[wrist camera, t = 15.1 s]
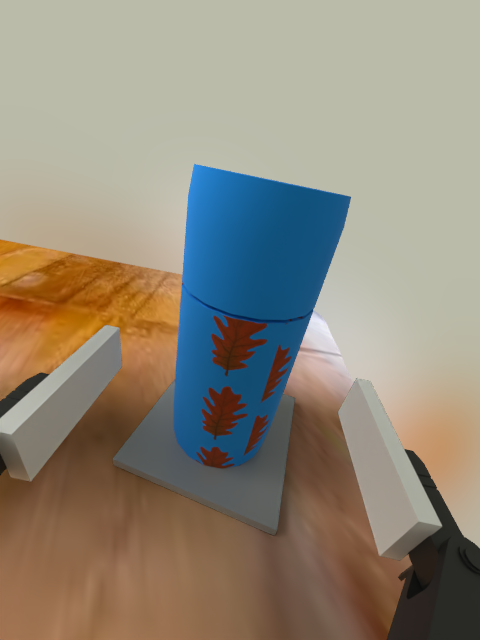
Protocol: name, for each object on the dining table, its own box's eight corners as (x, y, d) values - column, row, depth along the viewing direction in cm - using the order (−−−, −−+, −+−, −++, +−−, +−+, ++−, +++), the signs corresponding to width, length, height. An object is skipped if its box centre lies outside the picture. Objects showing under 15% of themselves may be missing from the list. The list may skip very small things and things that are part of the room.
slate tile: (113, 464, 24) (112, 458, 24) (188, 366, 38) (189, 361, 38) (274, 535, 22) (277, 530, 21) (292, 402, 36) (294, 397, 35)
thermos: (195, 378, 35) (222, 169, 23) (271, 403, 33) (343, 195, 21) (152, 448, 26) (157, 156, 13) (255, 487, 24) (368, 200, 12)
